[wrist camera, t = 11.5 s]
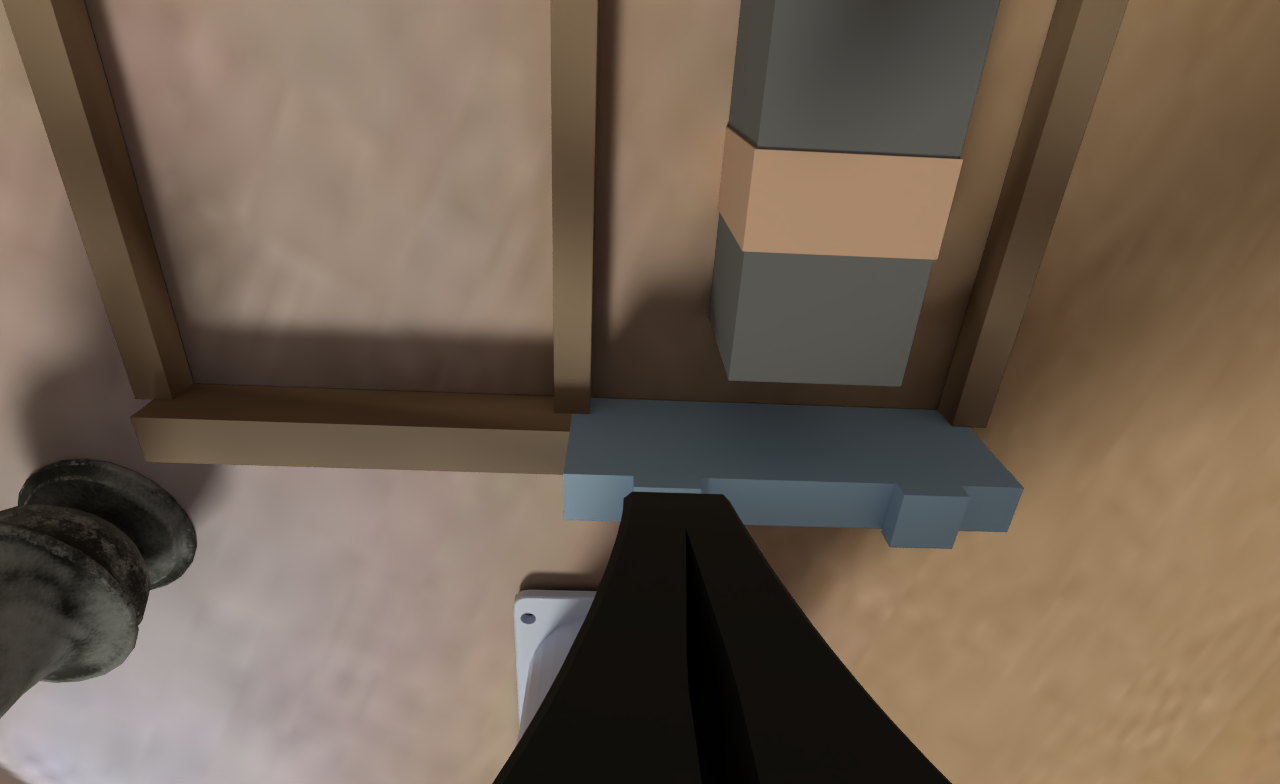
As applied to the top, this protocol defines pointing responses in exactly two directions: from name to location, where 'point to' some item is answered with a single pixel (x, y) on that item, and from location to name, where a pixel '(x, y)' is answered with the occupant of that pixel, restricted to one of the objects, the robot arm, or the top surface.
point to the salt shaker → (82, 570)
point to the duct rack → (588, 332)
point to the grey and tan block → (839, 181)
